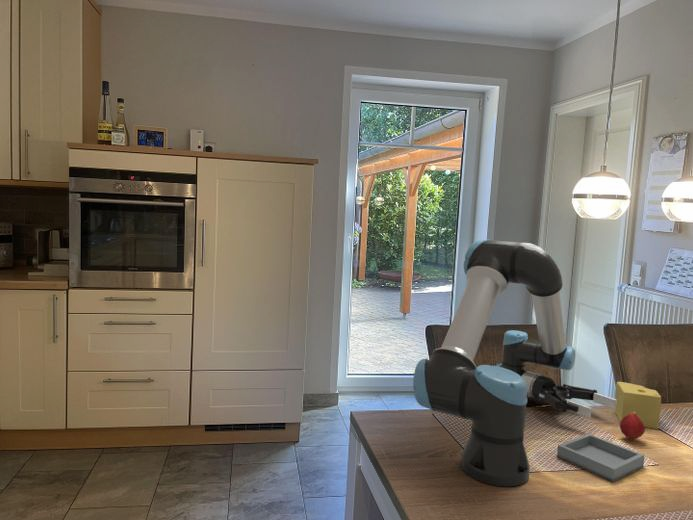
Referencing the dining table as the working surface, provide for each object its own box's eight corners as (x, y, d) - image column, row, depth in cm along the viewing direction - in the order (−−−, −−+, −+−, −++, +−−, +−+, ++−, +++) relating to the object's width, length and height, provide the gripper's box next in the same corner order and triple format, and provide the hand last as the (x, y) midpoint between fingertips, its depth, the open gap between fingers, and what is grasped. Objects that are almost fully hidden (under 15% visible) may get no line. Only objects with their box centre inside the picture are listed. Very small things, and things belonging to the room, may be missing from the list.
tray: (613, 482, 115) (614, 469, 114) (557, 456, 126) (557, 445, 126) (643, 467, 122) (644, 455, 122) (587, 444, 134) (588, 433, 134)
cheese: (650, 417, 155) (654, 385, 155) (659, 431, 145) (663, 397, 144) (613, 411, 159) (615, 380, 158) (619, 424, 149) (622, 391, 148)
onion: (620, 442, 136) (622, 413, 136) (617, 433, 142) (620, 406, 141) (644, 446, 134) (647, 417, 133) (641, 438, 139) (644, 410, 139)
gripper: (559, 391, 169) (624, 413, 152) (512, 404, 155) (578, 430, 137) (561, 369, 168) (626, 388, 151) (514, 380, 154) (580, 403, 137)
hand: (603, 408), depth 144 cm, fingers open, 13 cm apart
